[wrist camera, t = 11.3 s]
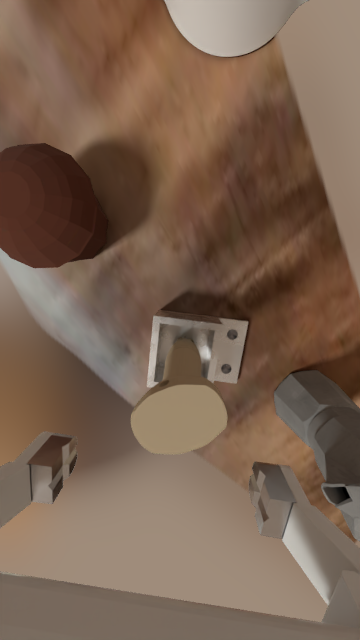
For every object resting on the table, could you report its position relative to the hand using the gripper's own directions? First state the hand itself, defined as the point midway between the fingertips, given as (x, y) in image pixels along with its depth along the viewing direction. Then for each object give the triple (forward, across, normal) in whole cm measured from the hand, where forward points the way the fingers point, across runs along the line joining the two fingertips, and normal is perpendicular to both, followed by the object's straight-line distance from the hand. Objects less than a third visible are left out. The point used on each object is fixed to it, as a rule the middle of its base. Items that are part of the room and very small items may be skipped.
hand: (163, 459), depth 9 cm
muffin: (+20, +15, -13) cm, 29 cm away
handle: (+19, -1, +1) cm, 19 cm away
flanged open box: (+20, -2, +1) cm, 20 cm away
